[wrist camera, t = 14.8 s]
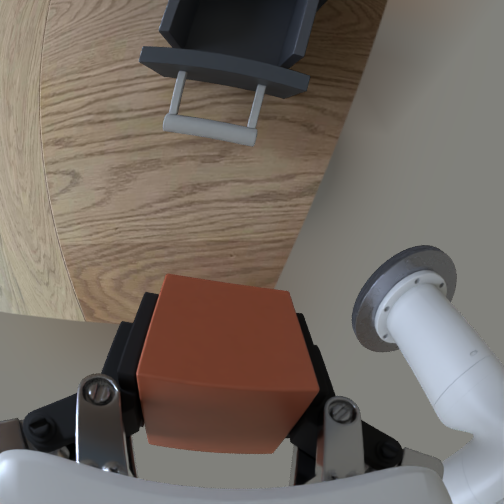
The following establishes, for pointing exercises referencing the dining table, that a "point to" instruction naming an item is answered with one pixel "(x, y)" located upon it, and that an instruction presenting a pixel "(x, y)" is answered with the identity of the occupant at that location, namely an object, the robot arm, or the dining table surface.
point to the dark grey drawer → (232, 55)
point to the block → (223, 368)
